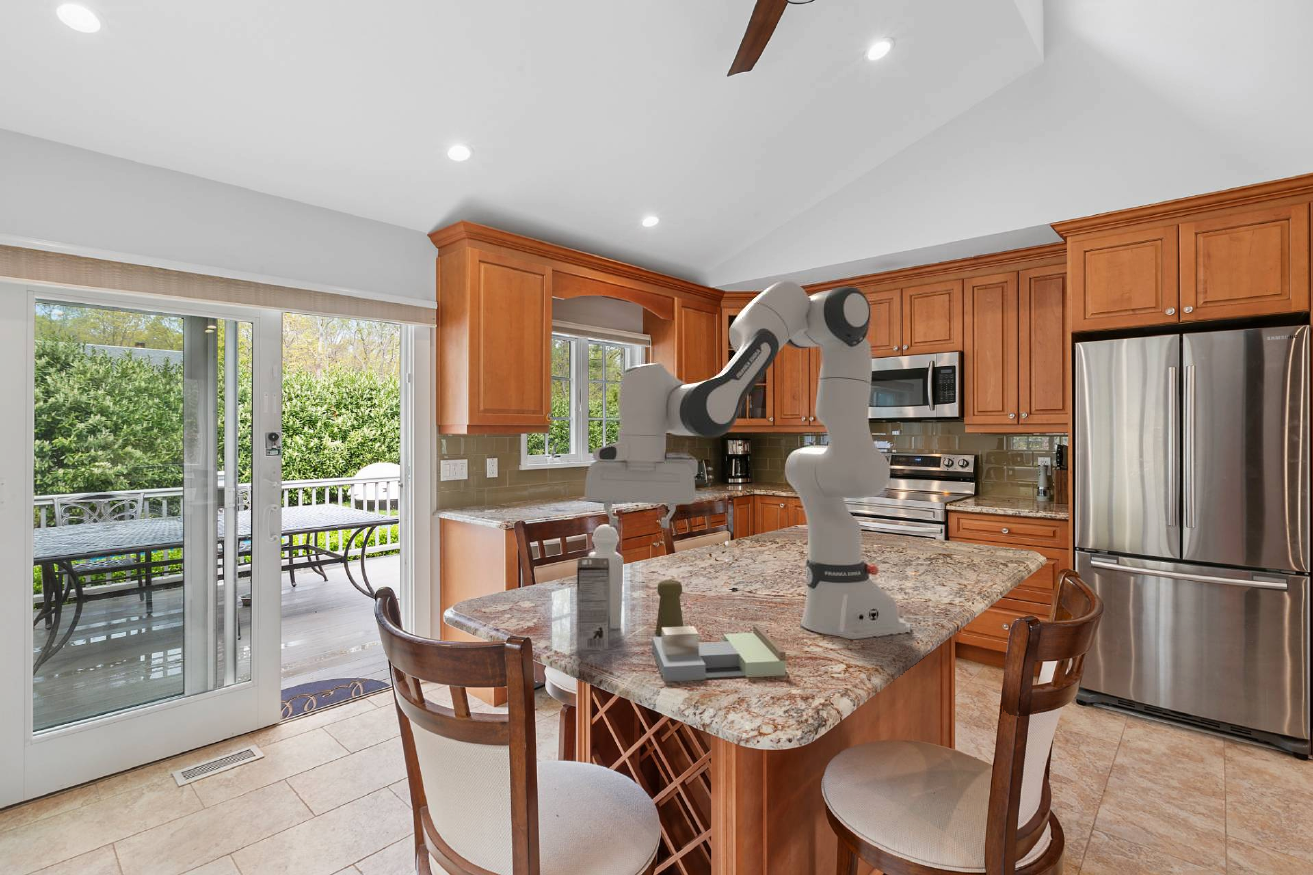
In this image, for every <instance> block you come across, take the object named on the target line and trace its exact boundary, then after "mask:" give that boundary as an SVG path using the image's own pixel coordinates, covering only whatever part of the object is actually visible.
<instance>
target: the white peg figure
mask: <svg viewBox="0 0 1313 875" xmlns="http://www.w3.org/2000/svg"><path fill="white" fill-rule="evenodd" d="M591 542H592V544H593V545H594V549H595V551H592V552H589V553H588V555H587V558H608V559H609V567H610V630H616V629H621V627H622V608H623V606H622V605H623V579H624V578H623V577H624V557H623V556H622V554H620V553H619V552H617V551H616V549H617V545H618V543H619V542H620V537H619V533H618V530H617V529H616V527H609V524H605V523H603V524H601V525H599V526H596V528H595V530H594V531H593V533H592V536H591Z"/></svg>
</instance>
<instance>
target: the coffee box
mask: <svg viewBox="0 0 1313 875" xmlns="http://www.w3.org/2000/svg"><path fill="white" fill-rule="evenodd" d="M576 568H577V569H576V572H577V573H576V574H577V575H576V579H577V580H576V589H577V590H576V622H577V623H576V625H577V626H576V628H577V630H576V636H577V637H576V638H577V639H576V640H577V641H576V642H577V643H576V644H577V645H576V646H577V648H576V649H577V651H596V650H595V649H608V650H610V635H611V634H610V631H611V629H610V567H609V559H608V558H588V557H580V558H578V559H577V566H576Z"/></svg>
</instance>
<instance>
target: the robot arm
mask: <svg viewBox="0 0 1313 875" xmlns="http://www.w3.org/2000/svg"><path fill="white" fill-rule="evenodd" d="M870 306H871V305H870V303H869V301H868V298H867V297H866V295H865V294H864V293H863V292H862V291H861V290H860V289H859V288H857V287H852V286H840V287H836V288H833V289H829V290H824V291H820V292H817V293H814V294H811V295H809V296H808V294H807V292H806V290H805V289H804V288H803V287H802V286H800V285H799V284H798V283H797V282H793V281H790V280H781V281H778V282H776V283H774V284H772V285H771V286H769V287H768V288H766V289H765V290H764V291H762V292H761V293H760V294H758V295H757V296H756V297H755V298H754V299H752V301H750V302H749V303H748V304H747V305H746V306H745V307H744V308H743V309H742V310H741V311H740V313H738V315H737V316H736V318H734V320H733V322H732V324H731V325H730V327H729V330H728V336H729V342H730V345H731V347H732V350H734V352H735V354H734V356H733V357H732V358H731V360H729V362H728V363H727V364H726V365H725V367H724V368H723V369H722V370H721V372H720V373H718V374H717V375H716V376H714V377H712V378H710V379H706V380H703V381H700V382H695V383H689V384H688V383H687V382H685V381H683V380H681V379H679V378H677V377H676V376H674V375H673V374H671V372H669V371H668V370H667V369H666V367H665V366H664V364H661V363H656V362H655V363H647V364H646V363H645V364H639V365H633V366H631V367H629V368H627V369H626V370H625V371H624V372H623V374H622V377H621V382H620V386H619V387H620V389H619V397H618V399H619V400H618V414H619V421H620V425H619V429H618V433H617V442H615V443H607V445H604V446H600V447H597V448H595V449H594V450H593V451H592V458H593V459H594V462H592V463H591V464H590V465H589V467H588V468H587V469H588V470H587V472H586V477H585V484H584V485H585V486H584V497H585V499H586V500H587V501H589V502H603V509H604V511H605V513H606V514H607V516H608V518H609V520H608V521H609V524H608V525H609V527H614V528H618V526H619V522H618V521H619V516H614V514H613V512H612V510H611V508H613V503H639V504H640V503H643V504H667V509H668V510H669V512H668V513H667V515H666V517H661V521H660V522H661V525H660V527H661V528H660V529H668V530H669V529H670V520H671V518H672V517H673V515H674V514H675V512H676V509H677V505H692V504H693V503H694V502H695V501H696V483H695V477H696V476H697V475H698V472H699V462H698V460H697V458H696V457H694V456H693V455H691V454H690V453H688V452H684V453H681V452H680V453H679V452H678V453H677V452H667V451H666V449H667V433H669V434H671V435H676V436H687V437H688V436H690V437H695V436H697V437H702V438H703V437H704V438H711V439H712V438H713V439H715V438H720V437H721V436H723V435H725V434H726V433H727V432H729V431H730V430H731V429H732V428H733V426H734V424H735V423H736V421H737V420H738V416H739V413H740V410H741V408H742V406H743V404H744V401H745V400H746V398H747V397H748V395H749V394H750V392H751V391H752V390H753V388H754V387H755V386H756V385H757V383H758V382H759V380H761V378H762V377H763V376H764V375H765V373H766V371H767V370H768V369H769V368H770V366H771V365H772V364H773V362H774V360H775V358H776V357H777V355H778V353H779V351H780V350H782V348H783V347H784V346H785V345H787V346H789V347H791V348H795V349H807V348H813V347H814V348H815V347H818V349H819V350H820V354H821V364H820V370H819V375H818V382H817V392H816V400H815V407H814V408H815V409H814V412H815V413H814V415H815V417H816V419H817V421H818V422H819V423H820V424H821V425H823V426H824V427H825V430H826V434H827V439H828V440H827V441H828V444H827V445H817V444H816V445H814V444H813V445H808V446H805V447H801V448H798V449H795V450H793V451H792V452H791V453H790V454H789V455H788V456H787V459H786V462H785V465H784V466H785V467H784V475H785V478H786V480H787V482H788V483H789V485H790V486H791V488H793V490H795V493H796V494H797V495H798V498H799V499H800V502H801V505H802V508H803V512H804V515H805V519H806V524H807V525H806V526H807V542H808V544H807V549H808V552H807V554H808V558H807V559H806V564H805V566H806V568H805V581H806V582H805V583H806V586H807V588H806V589H807V590H806V596H805V597H806V598H805V603H804V604H805V605H804V610H803V613H802V617H801V620H800V625H801V626H802V627H803V628H805V629H806V630H810V631H811V632H812V631H813V632H815V633H820V634H823V635H824V634H825V635H828V636H829V635H830V636H837V637H841V638H845V639H848V640H849V639H850V640H857V639H866V638H874V637H873V636H876V637H883V635H884V636H890V635H889V634H893V635H899V634H898V633H901V634H903V633H902V632H908V633H911V627H910V624H909V623H908V622H907V621H906V620H904V619H902V618H901V617H900V616H899V610H898V605H897V603H896V600H895V598H893V597H892V596H891V595H890V594H889V593H888V592H886V590H884V589H883V588H881V586H879V585H878V584H877V583H875V581H873V580H872V579H871V578H870V575H872V576H877V575H878V574H879V571H880V570H879V567H878V566H877V565H874V564H872V563H871V564H868V563H866V562H865V561H862V526H861V524H860V523H859V521H858V520H857V518H855V517H854V515H852V514H851V512H850V510H849V508H848V506H847V504H846V501H845V498H848V499H853V500H854V499H855V500H858V499H865V498H871V497H876V496H879V495H880V494H882V493H883V492H884V491H885V489H886V488H887V486H888V485H889V482H890V478H891V477H890V476H891V468H890V465H889V462H888V459H887V457H886V456H885V455H884V454H883V453H882V452H881V451H880V450H879V448H878V447H877V445H876V443H875V442H874V440H873V437H872V433H871V430H870V424H869V412H870V409H869V408H870V396H871V388H872V387H871V386H872V374H873V366H872V365H873V362H872V360H873V359H872V347H871V342H869V339H867V338H866V337H867V334H868V332H869V326H870V323H871V307H870Z"/></svg>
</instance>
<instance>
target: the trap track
mask: <svg viewBox="0 0 1313 875" xmlns="http://www.w3.org/2000/svg"><path fill="white" fill-rule="evenodd" d="M752 626H753V629H752V630H753V631H752V632H741V633H739V632H738V633H737V632H736V633H723V639H722V640H723V641H709V642H708V641H705V642H699V653H694V654H672V655H665V653H664V651H663V649H662V637H659V636H653V637H652V638H651V642H652V643H651V646H652V648H651V649H652V653H653V655H654V659H655V658H656V659H655V661H656V664H657V665H658V669H659V671H660V674H661V677H662V676H663V677H662V679H663V682H682V681H685V682H686V681H700V680H703V681H704V680H718V679H719V680H720V679H721V680H722V679H723V680H724V679H737V678H738V679H739V678H741V679H743V678H759V677H779V676H787V675H786V671H787V670H786V664H787V663H786V662H787V660H786V656H787V655H786V651H785V650H784V649H783V648H782V647H781V646H780V645H779V644H778V643H777V642H776V641H775V640H774V639H773V638H772V637H771V636H770V634H768V633H767V631H765V630H764V629H763V628H762V627H761V626H760V625H759V624H753V625H752Z"/></svg>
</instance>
